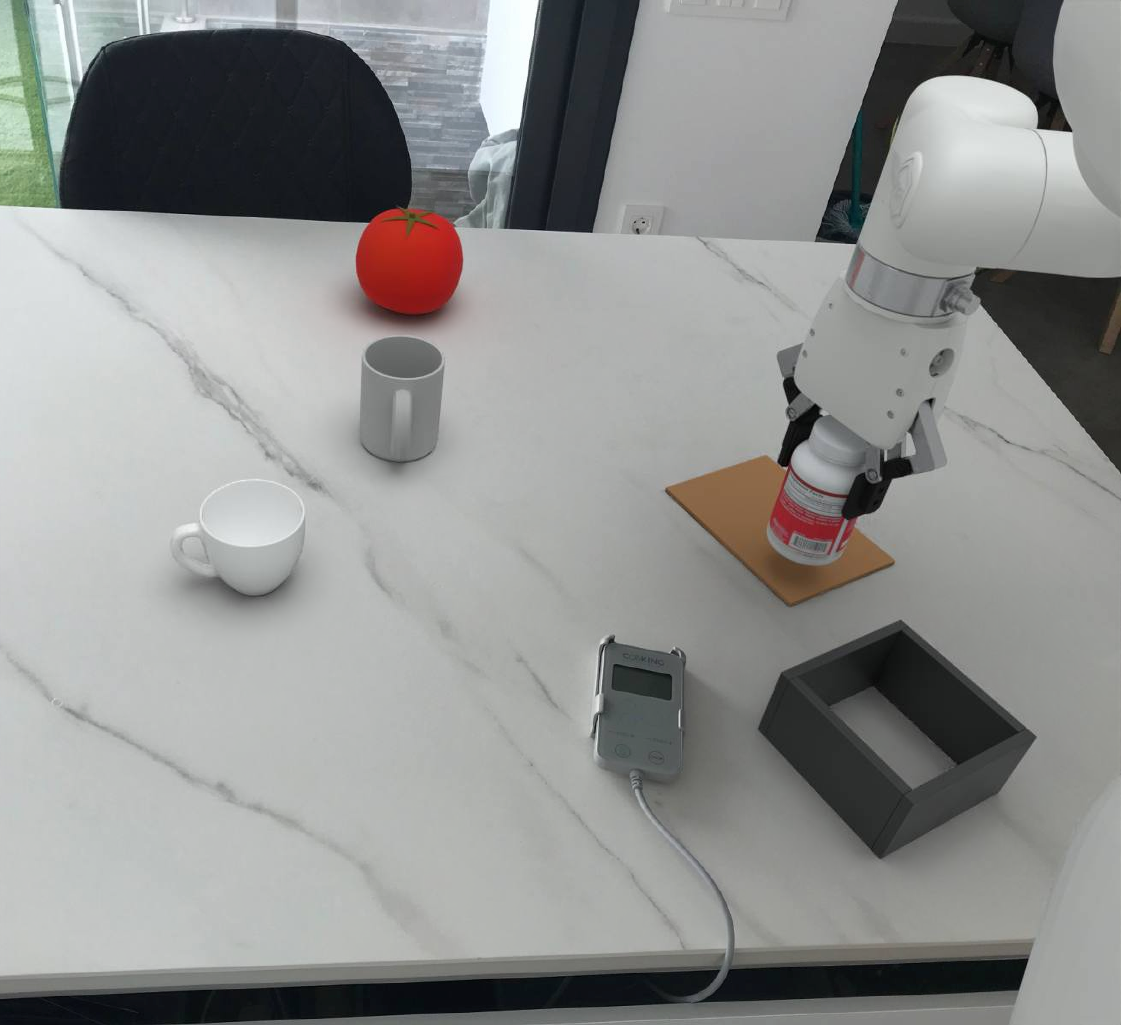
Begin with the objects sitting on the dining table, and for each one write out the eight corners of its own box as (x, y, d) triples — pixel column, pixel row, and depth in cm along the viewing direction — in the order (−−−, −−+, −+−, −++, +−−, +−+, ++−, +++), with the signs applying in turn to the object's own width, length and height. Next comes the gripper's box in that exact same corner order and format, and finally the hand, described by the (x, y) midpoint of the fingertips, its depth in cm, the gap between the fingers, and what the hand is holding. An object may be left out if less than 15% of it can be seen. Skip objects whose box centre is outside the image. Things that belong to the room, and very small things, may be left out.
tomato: (464, 284, 123) (473, 196, 116) (449, 339, 113) (458, 247, 106) (367, 271, 123) (370, 183, 116) (344, 324, 114) (346, 232, 107)
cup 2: (436, 418, 102) (443, 337, 96) (439, 485, 95) (447, 400, 89) (360, 415, 102) (363, 333, 96) (356, 481, 94) (359, 396, 88)
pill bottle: (812, 512, 90) (855, 403, 83) (857, 560, 86) (907, 449, 79) (749, 525, 88) (787, 414, 81) (792, 575, 84) (837, 462, 77)
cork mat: (894, 564, 91) (895, 560, 91) (789, 607, 86) (790, 603, 86) (765, 457, 101) (766, 454, 101) (664, 490, 96) (665, 487, 96)
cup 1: (313, 605, 82) (312, 539, 78) (178, 622, 80) (170, 555, 75) (297, 539, 88) (296, 473, 83) (171, 553, 85) (164, 486, 81)
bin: (999, 791, 74) (1037, 736, 70) (880, 859, 69) (913, 804, 65) (872, 674, 81) (900, 618, 77) (757, 728, 76) (780, 671, 72)
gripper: (1054, 328, 68) (945, 541, 79) (852, 214, 79) (783, 416, 90) (974, 353, 65) (873, 571, 76) (775, 230, 76) (714, 437, 87)
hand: (825, 485), depth 83 cm, fingers closed on pill bottle, 6 cm apart
